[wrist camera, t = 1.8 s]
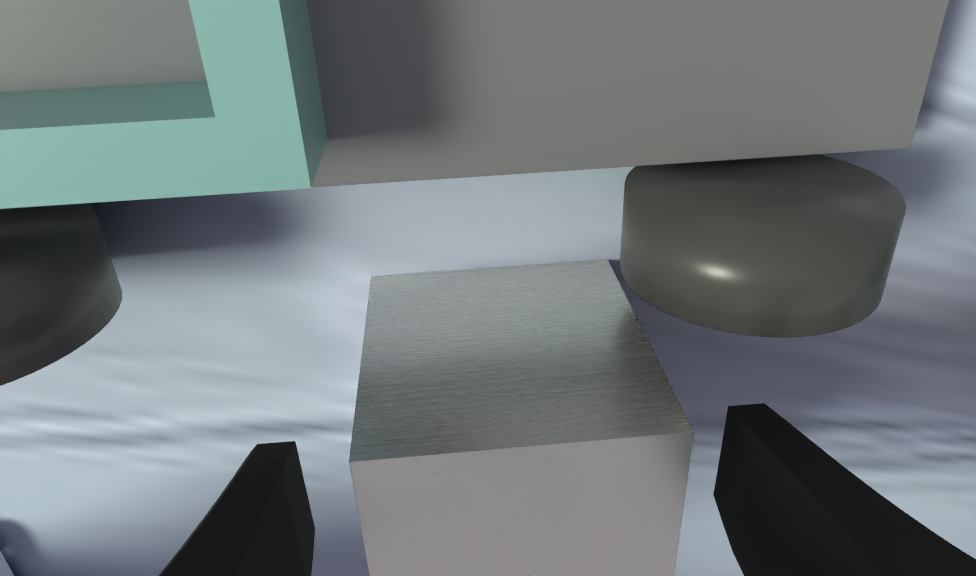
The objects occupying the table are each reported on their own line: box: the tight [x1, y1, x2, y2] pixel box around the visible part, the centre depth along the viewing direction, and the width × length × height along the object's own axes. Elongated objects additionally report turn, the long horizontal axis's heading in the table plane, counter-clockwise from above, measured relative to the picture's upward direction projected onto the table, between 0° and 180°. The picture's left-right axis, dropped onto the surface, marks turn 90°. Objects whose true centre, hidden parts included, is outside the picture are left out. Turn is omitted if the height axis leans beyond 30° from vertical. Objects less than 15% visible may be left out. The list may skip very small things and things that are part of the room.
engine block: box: [349, 259, 694, 576], centre depth 13 cm, size 4×4×5 cm
